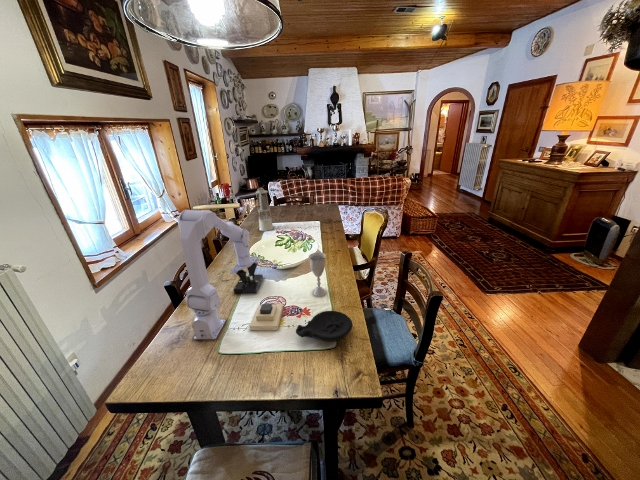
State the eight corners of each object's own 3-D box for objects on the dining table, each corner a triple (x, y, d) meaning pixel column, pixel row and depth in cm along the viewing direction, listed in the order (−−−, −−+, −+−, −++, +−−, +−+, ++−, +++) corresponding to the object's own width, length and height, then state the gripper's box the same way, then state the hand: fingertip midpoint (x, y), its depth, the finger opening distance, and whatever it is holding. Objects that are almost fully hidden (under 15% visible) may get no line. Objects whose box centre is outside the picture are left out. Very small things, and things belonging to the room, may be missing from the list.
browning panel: (256, 293, 112) (255, 288, 111) (234, 293, 113) (233, 288, 111) (263, 278, 123) (262, 274, 122) (243, 279, 123) (242, 274, 122)
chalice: (317, 286, 115) (314, 251, 107) (330, 290, 111) (328, 254, 104) (308, 295, 109) (305, 258, 102) (321, 299, 106) (319, 262, 98)
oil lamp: (294, 324, 93) (293, 313, 91) (345, 315, 96) (345, 304, 94) (299, 357, 80) (298, 345, 78) (358, 345, 83) (358, 333, 81)
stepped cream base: (277, 330, 91) (276, 321, 89) (250, 330, 92) (248, 321, 90) (283, 308, 102) (282, 300, 100) (259, 308, 102) (257, 300, 101)
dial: (253, 282, 116) (252, 275, 114) (251, 283, 115) (249, 276, 113) (246, 279, 118) (244, 272, 117) (243, 280, 117) (242, 273, 116)
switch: (270, 314, 94) (269, 310, 93) (260, 314, 94) (259, 310, 93) (272, 308, 97) (271, 303, 96) (263, 308, 97) (262, 303, 96)
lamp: (274, 225, 190) (269, 185, 177) (271, 232, 178) (265, 190, 165) (261, 226, 190) (254, 186, 178) (256, 232, 178) (249, 190, 166)
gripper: (249, 246, 118) (254, 271, 124) (223, 259, 108) (229, 286, 113) (260, 249, 115) (264, 274, 120) (234, 263, 104) (240, 290, 109)
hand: (248, 280), depth 116 cm, fingers open, 4 cm apart
